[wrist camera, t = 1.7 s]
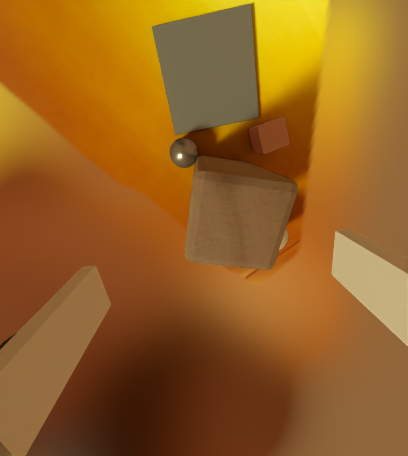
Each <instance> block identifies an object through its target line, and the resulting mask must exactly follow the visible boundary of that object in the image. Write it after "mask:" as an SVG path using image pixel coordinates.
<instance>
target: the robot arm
mask: <svg viewBox="0 0 408 456" xmlns="http://www.w3.org/2000/svg"><path fill="white" fill-rule="evenodd" d="M332 275H333V276H334V277H335V278H336V279H337V280H338V281H339V282H340V283H341V284H342V285H343V286H344V287H345V288H347V289H348V290H349V291H350V292H351V293H352V294H353V295H354V296H355V297H356V298H357V299H358V300H359V301H360V302H361V303H362V304H364V305H365V306H366V307H367V308H368V309H369V310H370V311H371V312H372V313H373V314H374V315H375V316H376V317H377V318H378V319H379V320H380V321H382V322H383V323H384V324H385V325H386V326H387V327H388V328H389V329H390V330H391V331H392V332H393V333H394V334H395V335H396V336H397V337H398V338H399V339H401V340H402V341H403V342H404V343H405V344H406V345H407V346H408V259H407V258H405V257H403V256H401V255H399V254H397V253H396V252H394V251H391V250H390V249H388V248H386V247H384V246H382V245H380V244H378V243H377V242H375V241H373V240H371V239H369V238H367V237H365V236H363V235H361V234H359V233H357V232H356V231H354V230H352V229H344V230H337V231H336V233H335V243H334V254H333V265H332ZM110 306H111V303H110V300H109V298H108V295H107V293H106V291H105V288H104V285H103V283H102V280H101V278H100V275H99V273H98V270H97V268H96V265H94V266H87V267H82V268H81V269H80V270H79V271H78V272H77V273H76V274H75V275H74V276H73V277H72V278H71V279H70V280H69V281H68V282H67V283H66V284H65V285H64V286H63V287H62V288H61V289H60V290H59V291H58V292H57V293H56V294H55V295H54V296H53V297H52V298H51V299H50V300H49V301H48V302H47V303H46V304H45V305H44V306H43V307H42V308H41V309H40V310H39V311H38V312H37V313H36V314H35V315H34V316H33V317H32V318H31V319H30V320H29V321H28V322H27V323H26V324H25V325H24V326H23V328H21V329H20V330H19V331H18V332H17V333H16V334H14V335H13V336H11V337H10V338H9V339H7V340H6V341H5V342H4V343H2V345H0V456H25V455H26V454H27V452H28V450H29V448H30V447H31V445H32V443H33V441H34V439H35V437H36V436H37V434H38V432H39V431H40V429H41V427H42V425H43V424H44V422H45V420H46V418H47V417H48V415H49V413H50V411H51V410H52V408H53V406H54V404H55V402H56V401H57V399H58V397H59V395H60V394H61V392H62V390H63V388H64V387H65V385H66V383H67V381H68V380H69V378H70V376H71V374H72V373H73V371H74V369H75V367H76V365H77V363H78V362H79V360H80V358H81V357H82V355H83V353H84V351H85V350H86V348H87V346H88V344H89V343H90V341H91V339H92V337H93V336H94V334H95V332H96V330H97V329H98V327H99V325H100V323H101V322H102V320H103V318H104V316H105V314H106V313H107V311H108V309H109V307H110Z"/></svg>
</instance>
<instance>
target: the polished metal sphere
mask: <svg viewBox="0 0 408 456" xmlns="http://www.w3.org/2000/svg"><path fill="white" fill-rule="evenodd" d="M170 157H171V159H172V161H173V162H174V164H176V165H177V166H179V167H182V168H187V167H190V166H192V165H193V164H194V163H195V162H196V160H197V157H198V149H197V146H196V144H195V143H194V142H193V141H192V140H190V139H187V138H180V139H177V140H176V141H174V142H173V144H172V145H171V148H170Z"/></svg>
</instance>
